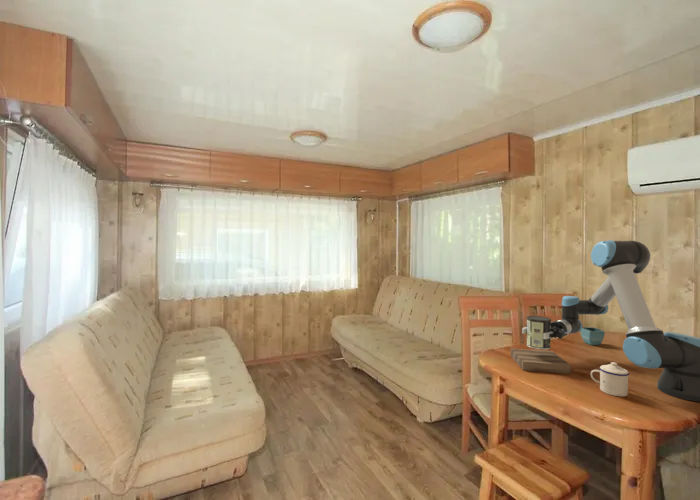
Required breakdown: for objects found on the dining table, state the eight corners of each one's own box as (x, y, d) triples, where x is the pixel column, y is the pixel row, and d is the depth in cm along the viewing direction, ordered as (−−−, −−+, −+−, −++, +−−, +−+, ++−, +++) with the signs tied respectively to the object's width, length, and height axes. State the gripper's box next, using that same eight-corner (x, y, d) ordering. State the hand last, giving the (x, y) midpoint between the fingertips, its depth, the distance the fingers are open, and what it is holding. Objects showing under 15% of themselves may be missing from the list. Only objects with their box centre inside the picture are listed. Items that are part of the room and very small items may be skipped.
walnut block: (570, 373, 147) (570, 365, 147) (522, 370, 151) (522, 361, 151) (552, 358, 167) (552, 351, 167) (510, 355, 171) (510, 348, 171)
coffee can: (545, 344, 163) (546, 316, 163) (554, 350, 153) (554, 320, 153) (523, 342, 165) (523, 315, 165) (530, 349, 155) (530, 319, 155)
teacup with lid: (629, 392, 129) (630, 362, 129) (627, 399, 123) (628, 368, 123) (592, 383, 138) (592, 355, 138) (588, 389, 131) (589, 360, 131)
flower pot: (605, 346, 189) (605, 331, 189) (589, 346, 189) (590, 330, 189) (594, 342, 198) (594, 327, 198) (579, 341, 198) (579, 327, 198)
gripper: (583, 341, 158) (557, 347, 147) (537, 330, 178) (511, 335, 167) (583, 325, 158) (557, 331, 147) (538, 316, 178) (511, 320, 167)
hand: (533, 333), depth 157 cm, fingers closed on coffee can, 10 cm apart
